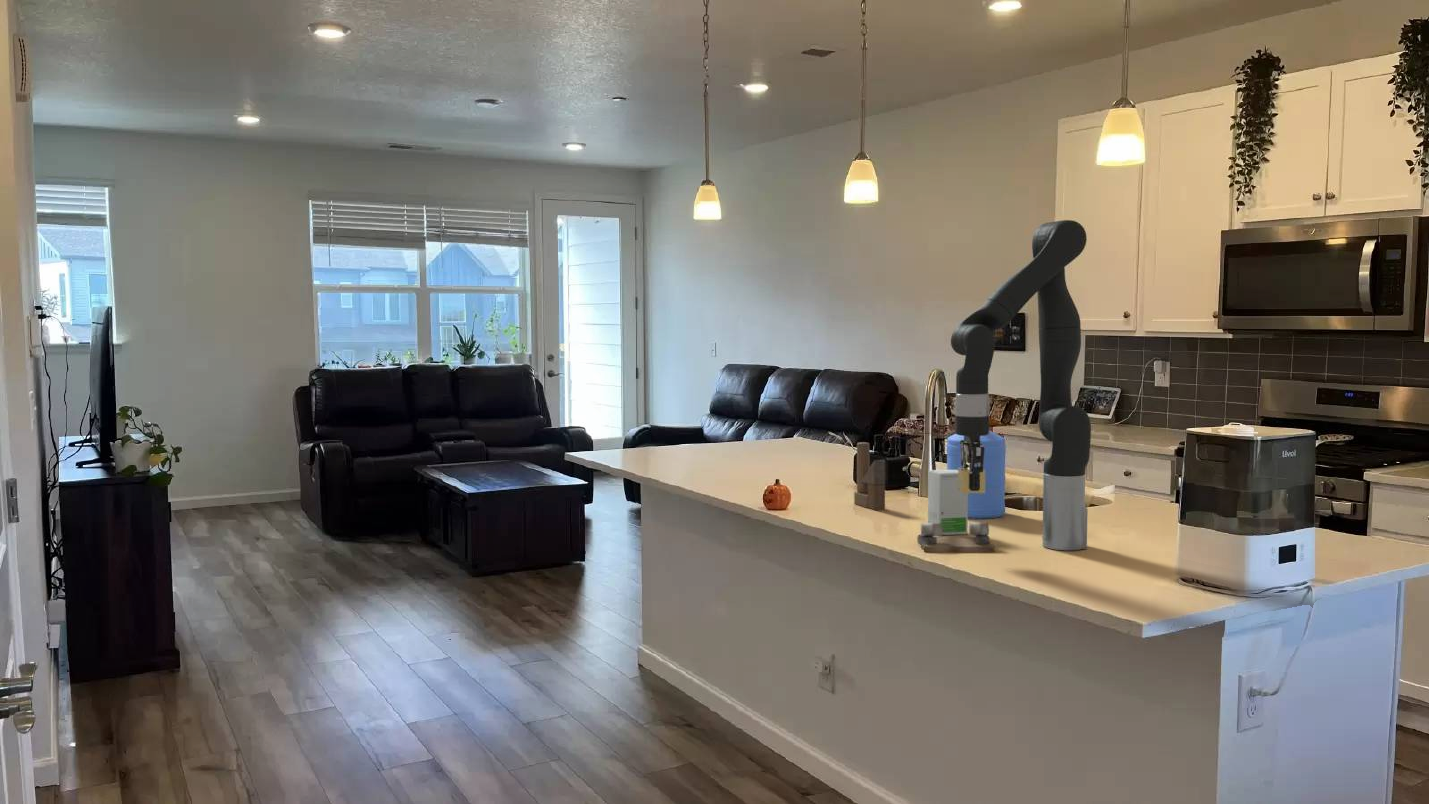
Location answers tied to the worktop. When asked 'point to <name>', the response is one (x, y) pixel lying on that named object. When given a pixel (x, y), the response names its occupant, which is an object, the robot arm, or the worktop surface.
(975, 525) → the rig
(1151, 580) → the worktop surface
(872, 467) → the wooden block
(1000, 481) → the water jug
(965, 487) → the joint block
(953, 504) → the skincare box
